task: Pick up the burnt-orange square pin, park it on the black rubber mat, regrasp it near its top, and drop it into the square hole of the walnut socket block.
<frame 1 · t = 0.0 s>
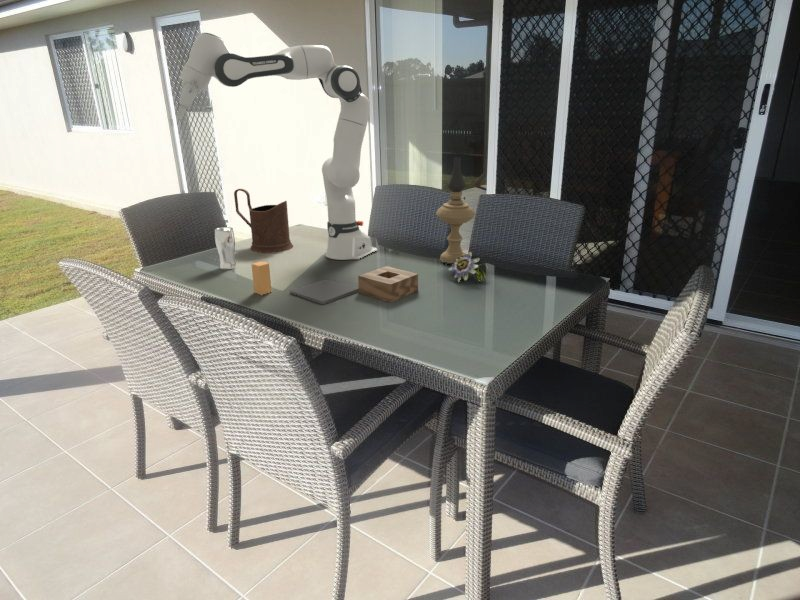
hand: (178, 118, 183), 54 cm above the table, tool tilted 30°, fingers open, 8 cm apart
beer glass: (228, 267, 205), on the table
oil lamp: (453, 261, 212), on the table
passion flower: (467, 280, 191), on the table
socket block: (388, 291, 178), on the table
pin: (263, 292, 178), on the table
rusty metal jug: (266, 247, 234), on the table
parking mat: (324, 292, 178), on the table
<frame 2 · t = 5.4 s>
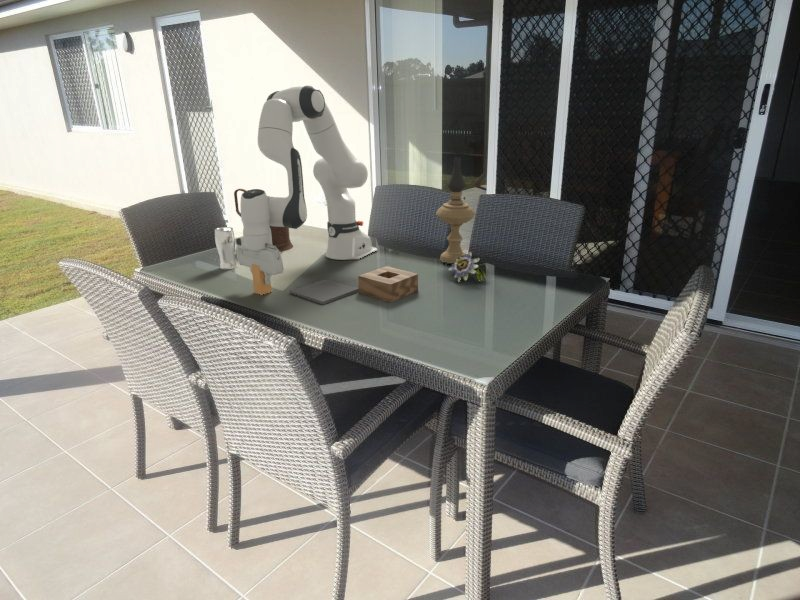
hand: (262, 282, 177), 4 cm above the table, tool pointing down, fingers closed on pin, 4 cm apart
pin: (263, 292, 178), on the table, touching gripper
everything else where it was.
when the fingers open (6 cm above the table, at t = 12.1 s): pin stays where it is, resting on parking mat.
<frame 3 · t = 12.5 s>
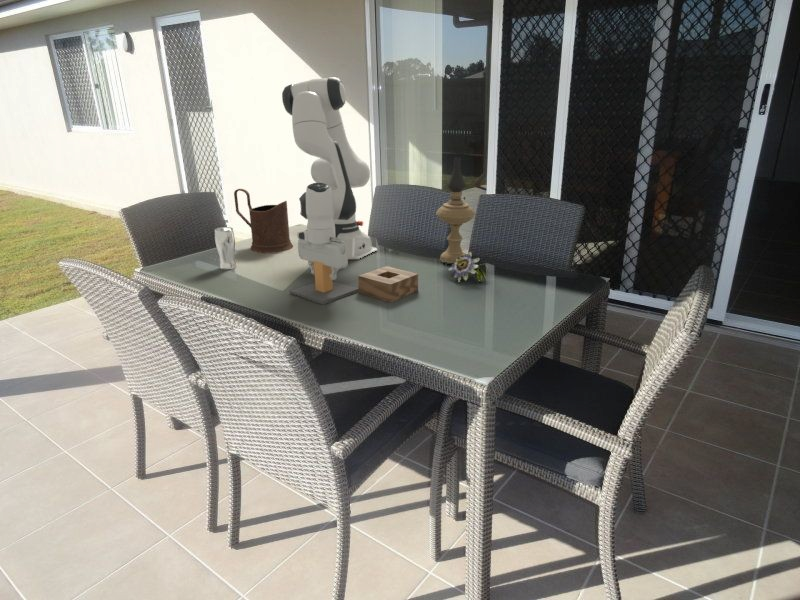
hand: (323, 276, 176), 6 cm above the table, tool pointing down, fingers open, 8 cm apart
pin: (324, 289, 178), point 1 cm above the table, touching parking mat
everything else where it was.
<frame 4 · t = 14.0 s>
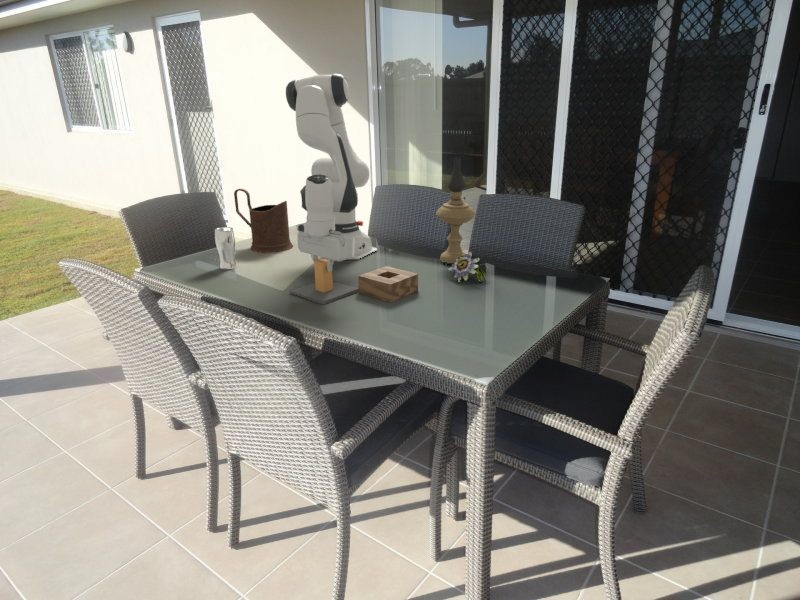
hand: (323, 269, 175), 8 cm above the table, tool pointing down, fingers closed on pin, 4 cm apart
pin: (324, 289, 178), point 1 cm above the table, touching gripper, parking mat
everything else where it was.
when the fingers open (10 cm above the table, at t = 20.1 s): pin drops 1 cm, resting on socket block.
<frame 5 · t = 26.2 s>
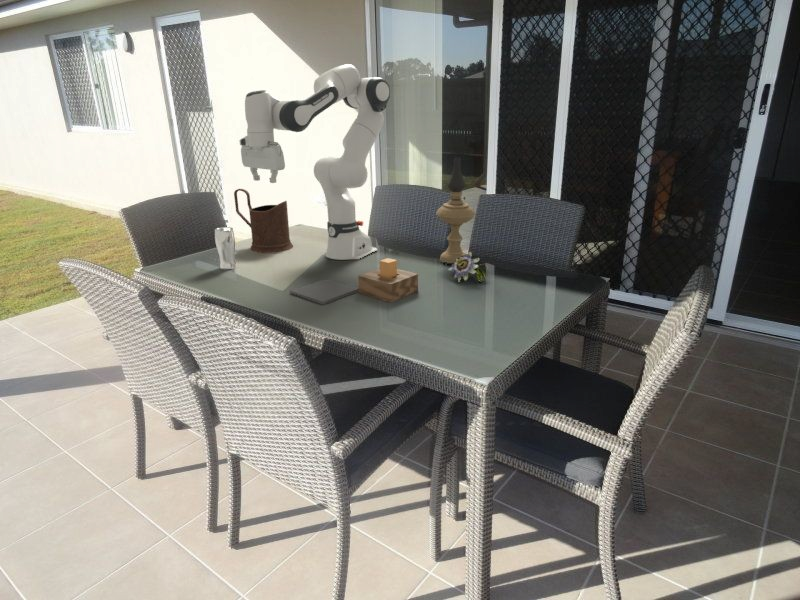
hand: (264, 181, 189), 33 cm above the table, tool pointing down, fingers open, 8 cm apart
pin: (388, 289, 178), point 1 cm above the table, touching socket block
everything else where it was.
at the end: pin 0.3 cm off-centre on the socket block, point 1.0 cm above the socket block's base; pin tilted 0°; the gripper is holding nothing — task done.
